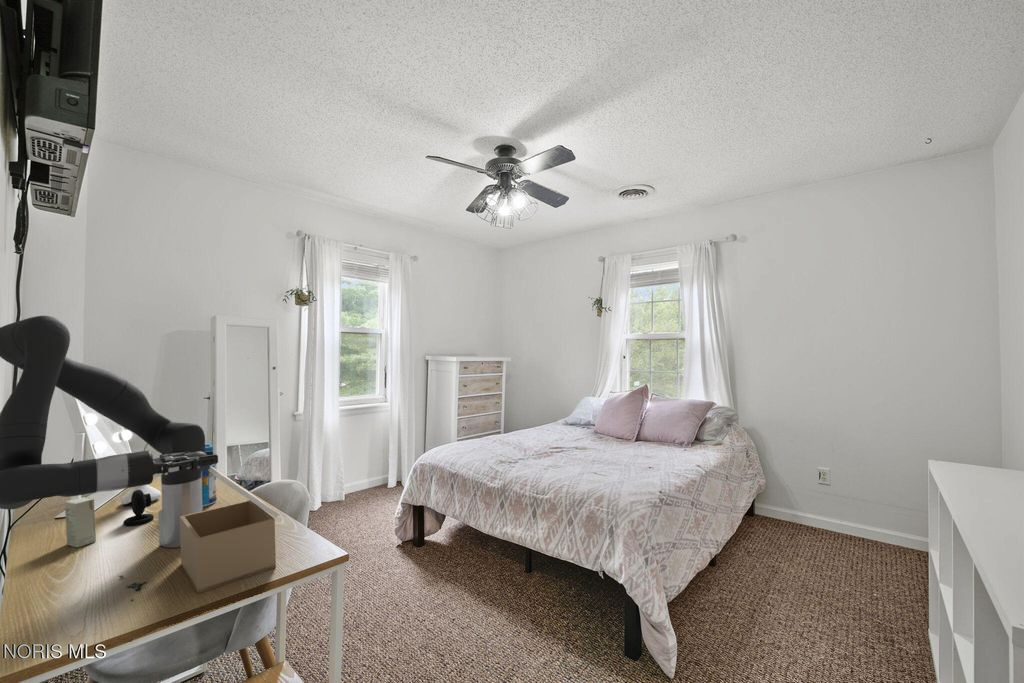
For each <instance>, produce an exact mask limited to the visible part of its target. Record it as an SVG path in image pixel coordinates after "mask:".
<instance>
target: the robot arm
mask: <svg viewBox="0 0 1024 683" xmlns="http://www.w3.org/2000/svg"><path fill="white" fill-rule="evenodd" d="M70 343H71V334H70V331H69V328H68V327H67V326H66V324H64V322H62V321H61V320H60V319H58V318H56V317H54V316H49V315H37V316H31V317H28V318H24V319H22V320H17V321H14V322H12V323H8V324H5V325H3V326H1V327H0V358H1V359H3V360H4V361H6V362H7V363H9V364H11V365H12V366H15V367H16V368H19V369H21V370H22V372H21V375H20V377H19V380H18V382H17V384H16V386H15V387H14V389H13V391H12V392H11V394H10V395H9V397H8V399H7V400H6V402H5V403H4V406H3V407H2V409H1V412H0V509H2V510H16V509H20V508H23V507H25V506H27V505H29V504H30V503H32V502H33V501H36V500H41V499H47V498H53V497H64V498H70V497H71V498H72V497H76V496H77V497H78V496H84V495H90V494H94V493H101V492H114V491H118V490H119V491H120V490H123V489H125V490H126V489H131V488H134V487H137V486H142V485H151V484H152V483H153V481H154V475H160V474H161V476H160V479H161V480H160V482H161V484H160V486H161V488H160V489H161V509H160V510H158V512H157V513H158V542H159V543H158V545H159V547H160V546H162V547H164V548H168V549H169V548H171V549H172V548H181V540H180V516H184V515H188V514H192V513H197V512H201V511H203V507H202V477H201V473H202V469H201V470H198V468H199V467H200V466H206V465H212V464H216V465H217V464H218V463H219V455H218V454H215V453H214V451H213V452H212V451H207V452H205V445H206V436H205V431H204V430H203V428H202V427H201V426H200V425H198V424H197V423H193V422H192V423H191V422H177V421H173V420H171V419H170V418H167V417H166V416H164V415H162V414H160V413H159V412H157V410H155V409H154V408H153V407H152V406H151V404H150V403H149V400H148V398H147V397H146V396H145V394H144V393H143V391H142V390H140V389H139V387H137V386H135V385H134V384H133V383H131V382H130V381H128V380H127V379H125V377H122V376H121V375H119V374H117V373H115V372H112V371H109V370H106V369H103V368H99V367H95V366H94V365H93V366H92V365H88V364H84V363H82V362H78V361H77V360H73V359H71V358H69V357H68V356H67V353H68V351H69V347H70ZM56 388H58V389H59V390H61V391H63V392H65V393H66V394H68V395H69V396H71V397H72V398H75V399H76V400H78V401H80V402H81V403H83V404H84V405H86V406H87V407H88V408H90V409H92V410H93V411H94V412H96V413H98V414H100V415H101V416H104V417H105V418H107V419H108V420H110V421H112V422H114V423H116V424H117V425H119V426H121V427H122V428H124V429H126V430H129V432H132V434H135V435H136V436H137V437H139V438H140V439H142V440H143V441H144V442H145V443H146V444H147V443H148V445H149V446H150V447H151V448H152V447H153V448H152V449H154V450H155V451H156V452H158V453H159V457H156V458H154V456H153V453H152V451H151V450H145V451H144V450H142V451H134V452H128V453H120V454H114V455H112V454H111V455H107V456H103V457H99V458H93V459H83V460H78V461H72V462H71V461H70V462H66V463H42V462H43V461H42V456H43V451H44V447H45V445H46V444H45V443H46V438H47V429H48V428H47V427H48V420H49V415H50V413H49V412H50V409H51V408H50V407H51V403H52V399H53V396H54V393H55V390H56ZM198 451H201V452H204V453H206V454H207V456H201V457H190V458H188V457H189V456H190V455H191V454H192V453H194V452H198ZM188 463H191V466H188Z"/></svg>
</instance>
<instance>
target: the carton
mask: <svg viewBox="0 0 1024 683" xmlns="http://www.w3.org/2000/svg"><path fill="white" fill-rule="evenodd" d="M275 520H276V519H275V517H274V516H272V515H271V514H269V513H268V512H266V511H265V510H263V509H262V508H260V507H259V506H258V505H256V504H255V503H253V502H252V501H250V500H249V499H247V500H244V501H239V502H236V503H232V504H227V505H223V506H219V507H213V508H210V509H206V510H202V511H201V512H197V513H192V514H188V515H184V516H180V540H181V547H180V564H181V566H182V568H183V570H184V571H185V573H186V575H187V577H188V578H189V580H190V582H191V584H192V586H193V588H194V589H195V591H196V593H197V594H201V593H205V592H208V591H210V590H214V589H217V588H219V587H220V588H221V587H222V586H223V587H224V586H226V585H230V584H232V583H235V582H238V581H240V580H244V579H246V578H249V577H252V576H255V575H258V574H261V573H263V572H266V571H269V570H273V569H275V568H276V566H277V564H276V563H277V560H276V558H277V557H276V524H275V523H276V522H275Z"/></svg>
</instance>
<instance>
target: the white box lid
mask: <svg viewBox="0 0 1024 683" xmlns="http://www.w3.org/2000/svg"><path fill="white" fill-rule="evenodd" d="M201 456H207V454H206V453H204V452H201V451H198V452H194V453H192V454H191V455H190V456H189V457H188V458H190V457H201ZM188 466H191V463H188ZM201 469H205V470H208V471H209V472H210V473H212V474H213V475H214V476H215V477H216V479H218V480H219V481H221V483H223V484H225V485H226V486H228V487H229V488H231V489H232V490H234V491H236V492H237V493H238V494H240V495H241V496H243V497H244V498H245V499H247V500H250V501H252V502H253V503H255V504H256V505H258V506H259V507H260V508H262V509H263V510H264V511H265V512H267V513H268V514H269V515H270V516H272V517H273V518H274V519H275V518H277V517H279V516H280V514H279V513H278V512H277V511H275V510H274V509H273V508H271V507H270V506H269V505H267V504H266V503H265V502H263V501H262V500H260V499H259V498H258V496H255V495H254V494H252V493H251V492H249V491H248V490H247V489H245V488H244V487H242V486H241V485H239V484H238V483H236V482H235V481H233V480H232V479H231V478H229V477H227V476H226V475H225V474H223V473H222V472H221V471H218V469H216V468H215V469H214V468H213V467H212V466H211V465H206V466H200V467H199V468H198V470H201Z"/></svg>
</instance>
